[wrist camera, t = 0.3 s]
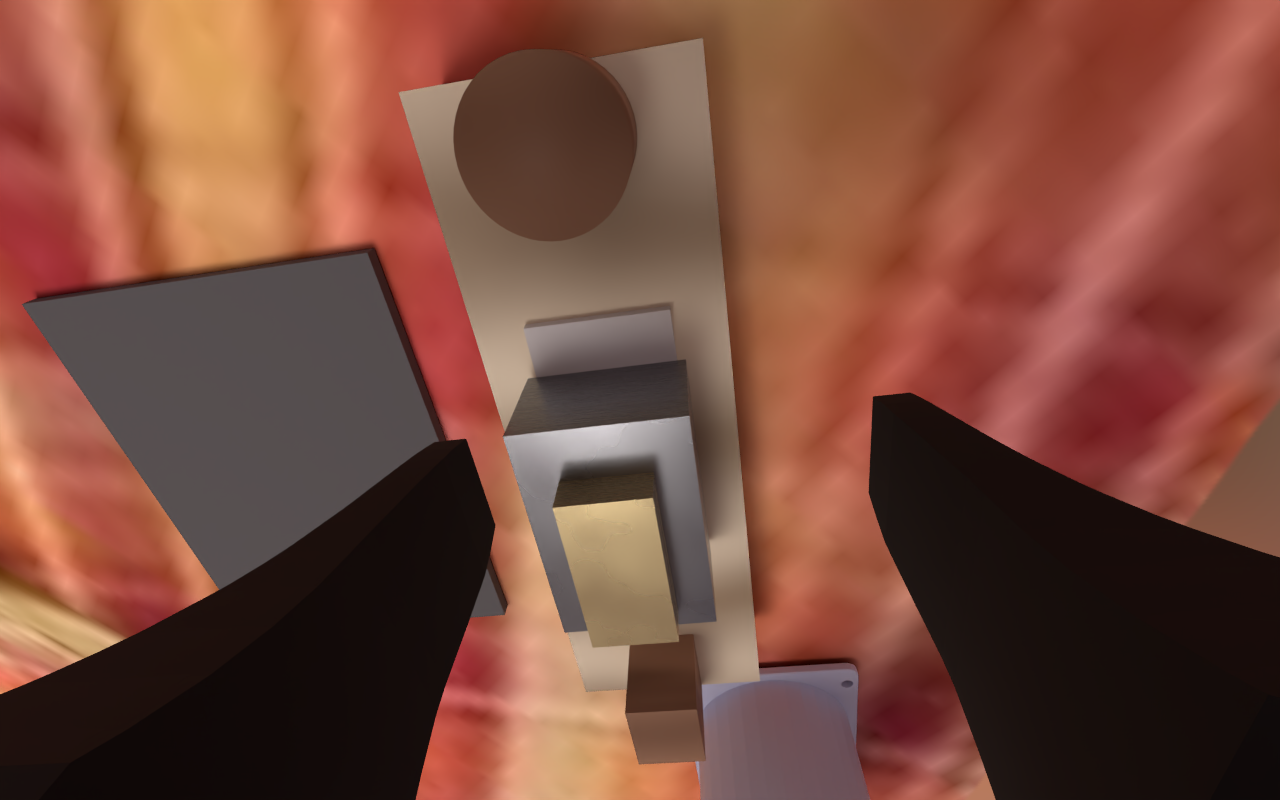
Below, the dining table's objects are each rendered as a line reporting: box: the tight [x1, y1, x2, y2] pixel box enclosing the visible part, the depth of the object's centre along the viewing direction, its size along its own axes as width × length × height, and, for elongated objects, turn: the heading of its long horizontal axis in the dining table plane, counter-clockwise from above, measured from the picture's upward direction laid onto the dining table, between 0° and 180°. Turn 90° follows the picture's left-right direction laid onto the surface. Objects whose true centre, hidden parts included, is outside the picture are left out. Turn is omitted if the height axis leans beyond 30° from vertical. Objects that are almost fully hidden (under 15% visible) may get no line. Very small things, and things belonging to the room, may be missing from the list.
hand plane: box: [399, 38, 760, 764], centre depth 19 cm, size 22×7×6 cm, turn 9°
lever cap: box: [503, 359, 717, 648], centre depth 17 cm, size 7×4×4 cm, turn 9°
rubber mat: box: [22, 248, 507, 617], centre depth 23 cm, size 16×12×1 cm
